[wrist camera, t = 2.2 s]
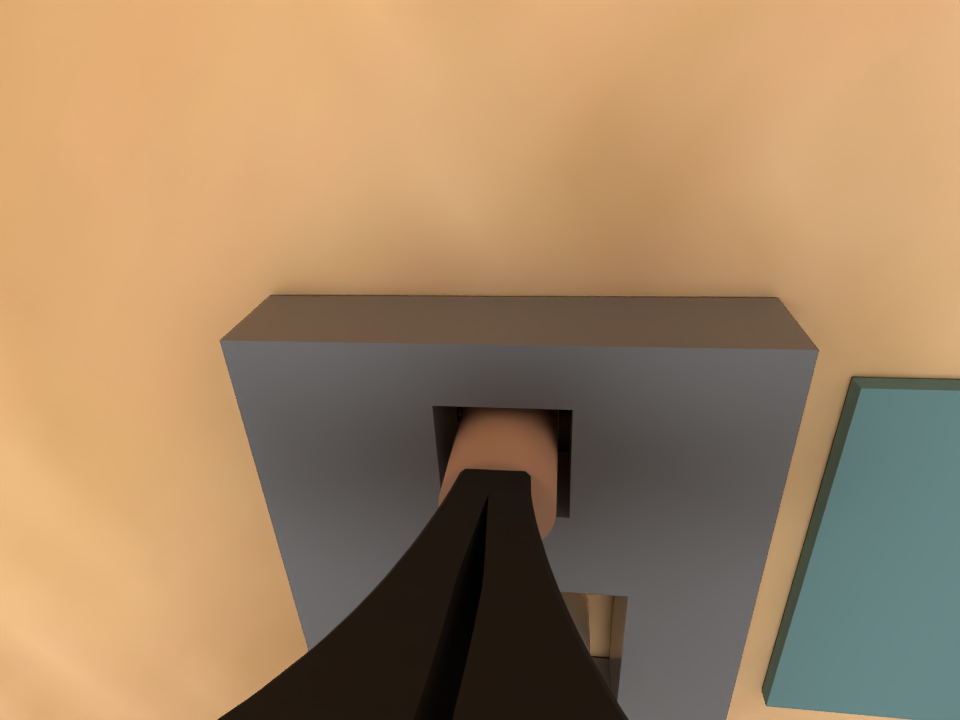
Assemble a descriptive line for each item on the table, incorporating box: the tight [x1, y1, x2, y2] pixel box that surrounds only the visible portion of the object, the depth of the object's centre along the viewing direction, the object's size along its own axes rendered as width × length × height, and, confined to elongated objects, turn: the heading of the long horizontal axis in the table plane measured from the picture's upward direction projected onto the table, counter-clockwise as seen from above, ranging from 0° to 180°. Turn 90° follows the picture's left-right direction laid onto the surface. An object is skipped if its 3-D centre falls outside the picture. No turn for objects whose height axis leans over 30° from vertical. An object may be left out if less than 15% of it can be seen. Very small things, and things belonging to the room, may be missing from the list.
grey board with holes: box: [220, 295, 819, 720], centre depth 17 cm, size 16×12×2 cm
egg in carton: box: [438, 407, 559, 540], centre depth 14 cm, size 2×2×4 cm
